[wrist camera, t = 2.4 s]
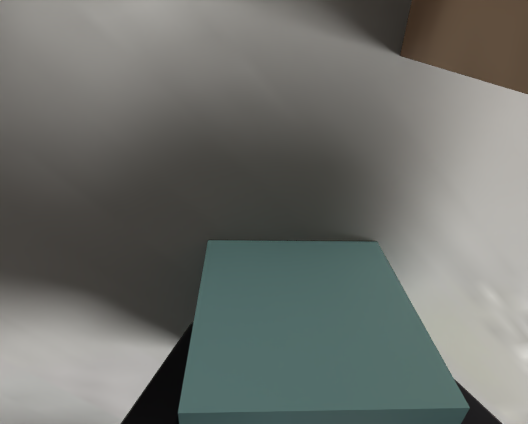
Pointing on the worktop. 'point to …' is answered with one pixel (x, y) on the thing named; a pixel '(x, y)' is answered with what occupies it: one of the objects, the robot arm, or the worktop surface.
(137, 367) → the worktop surface
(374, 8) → the worktop surface
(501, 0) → the tower base
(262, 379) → the teal cube
